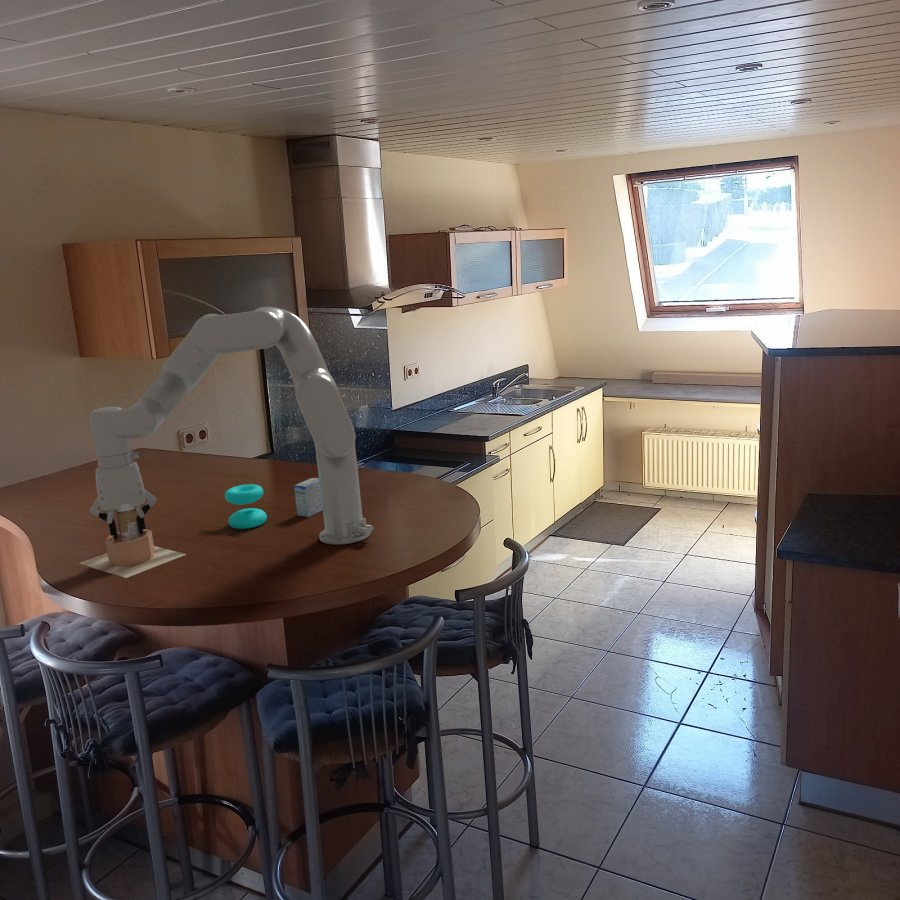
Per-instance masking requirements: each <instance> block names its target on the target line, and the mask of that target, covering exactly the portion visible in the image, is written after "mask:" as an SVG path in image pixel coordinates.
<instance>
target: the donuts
mask: <svg viewBox="0 0 900 900" xmlns="http://www.w3.org/2000/svg"><path fill="white" fill-rule="evenodd" d="M263 495H264V489H263V487H262V486H261V485H258V484H253V483H252V484H249V483H248V484H241V485H240V484H239V485H236V486H232V487H231V488H228V489H227V490H226V491H225V493H224V498H225V500H226V501H227V502H228V503H230V504H232V505H247V504H248V505H249V504H252V503H255V502H257V501H259V500H260V499H261V498H262V497H263ZM267 519H268V515H267V513H266V512H265V511H264V510H262V509H259V508H257V507H256V508H255V507H253V508H252V507H250V508H242V509H239V510H237V511H234V512H233V513H232V514H231V515H230V516H229V517H228V521H227V522H228V525H229V526H230V527H231V528H233V529H235V530H236V529H237V530H245V529H247V530H249V529H253V528H257V527H259V526H262V525H264V523H265V522H267Z"/></svg>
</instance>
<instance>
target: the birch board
mask: <svg viewBox="0 0 900 900" xmlns="http://www.w3.org/2000/svg"><path fill="white" fill-rule="evenodd" d="M154 549H155V551H154V556H153V558H151V559H150V560H148V561H146V562H143V563H140V564H136V565H132V566H114V565H112V564H111V562H110V561H109V559H108V553H104V554H102V555H99V556H95V557H93V558H90V559H87V560H84V561H81V562H78V565H82V566H85V567H89V568H91V569H96V570H98V571H101V572H105V573H108V574H112V575H114V576H118V577H121V578H125V579H127V578H131V577H132V576H134V575H135V576H136V575H139V574H140V573H143V572H145V571H149V570H150V569H154V568H156V567H158V566H161V565H163V564H166V563H169V562H172V561H173V560H176V559H179V558H181V557H184V556H187V553H183V552H179V551H175V550H170V549H167V548H163V547H159V546H155V545H154Z"/></svg>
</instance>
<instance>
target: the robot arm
mask: <svg viewBox="0 0 900 900" xmlns="http://www.w3.org/2000/svg"><path fill="white" fill-rule="evenodd" d="M273 346H276V347H277V349H278V350H279V353H280V354H281V357H282V358H283V360H284V361H283V362H284V364H285V365H286V367H287V369H288V370H287V371H288V372H289V374H290V377H291V379H292V382H293V385H294V388H295V390H294V391H295V399H296V402H297V404H298V405H297V406H298V407H299V410H300V413H301V414H302V417H303V419H304V421H305V422H304V423H306V426H307V428H308V431H309V433H310V435H311V438H312V441H313V443H314V450H315V456H316V465H317V472H318V473H317V474H318V478H319V483H320V492H321V500H322V509H323V511H322V516H323V524H324V529H323V530H322V531H321V532H320V533H319V534H318V535H319V536H318V537H319V541H320V542H322V543H324V544H326V545H327V544H328V545H338V546H339V545H347V544H354V543H357V542H361V541H363V540H365V539H367V538H369V536H370V535H371V534H372V531H374V525H372V524H367V518H366V517H364V515H363V510H362V498H361V489H360V481H359V480H360V479H359V469H358V467H359V466H358V462H357V461H358V459H357V453H356V452H357V451H356V437H357V435H356V432H355V431H356V430H355V428H354V424H353V423H352V420H351V418H350V416H349V414H348V413H349V412H348V411H347V408H346V406H345V403H344V401H343V399H342V397H341V393H340V392H339V388H338V386H337V384H336V382H335V379H334V378H333V377H332V375H331V373H330V371H329V369H328V366H327V363H326V361H325V359H324V357H323V354H322V353H321V351H320V348H319V346H318V343H317V342H316V339H315V337H314V335H313V334H312V332H311V330H310V328H309V327H308V325H307V324H306V323H305V322H304V321H303V320H302V319H301V318H300V317H299V316H297V315H296V314H294V313H293V312H290V310H289V311H288V310H286V309H283V308H280V307H279V308H278V307H274V306H262V307H259V308H256V309H254V310H250V311H244V312H243V311H242V312H236V313H229V314H227V313H226V314H217V313H208V314H205V315H203V316H202V317H200V318H198V319H197V320H196V322H195V323H194V324H193V326H192V328H191V329H190V331H189V332H188V333H187V334H186V336H185V337H184V338H183V339H182V340H181V342H180V343H179V344H178V346H176V348H175V349H174V350H173V352H171V354H170V355H169V356H168V357H167V359H166V360H165V362H164V363H163V365H162V368H161V370H160V372H159V374H158V375H157V377H155V379H154V381H153V382H152V383H151V385H150V386H149V387H148V388H147V390H146V391H144V393H143V394H142V395H141V396H140V398H139V399H138V400H137V402H136V403H134V404H133V405H131V406H130V407H127V408H123V407H120V406H104V407H99V408H96V409H93V410H92V411H90V413H89V422H90V429H91V433H92V434H91V435H92V439H93V444H94V449H95V456H96V459H97V465H98V467H96V468H95V484H96V492H97V493H96V494H97V497H96V499H95V500H94V502H93V504H92V505H91V507H90V508H89V513H90V514H92V515H94V516H96V517H98V518H99V519H101V520H103V521H104V522H106V523H107V524H108V528H109V531H110V532H109V535H111V536H112V535H114V538H115V539H117V538H118V535H117V533H118V531H117V525H116V520H114V512H115V511H116V510H118V509H120V508H121V506H122V505H123V504H129V505H130V506H131V507H135V509H136V514H137V519H138V525H139V531H140V534H143V530H144V529H146V523H145V515H146V514H147V513H148V512H149V510H150V509H151V507H153V506H154V505H155V503H156V502H157V501H158V500H157V497H155V496H154V495H153V494H152V493H150V492H149V491H148V490H147V489H145V486H144V483H143V478H142V475H141V470H140V467H139V465H138V462H137V461H134V460H135V459H137V458H140V455H139V452H138V451H137V452H135V451H132V446H131V441H130V439H146V438H148V437H150V436H153V435H154V434H155V433H156V432H157V430H158V429H159V428H160V427H161V425H162V424H163V423H164V422H165V420H166V419H167V418H168V417H169V415H170V414H171V413H172V412H173V410H174V409H175V408H176V407H177V406H178V404H180V402H181V401H182V400H183V399H184V397H185V396H186V395H187V394H188V393H189V392H191V391H192V390H193V389H194V388H196V386H197V385H198V383H199V382H200V381H201V380H202V379H203V377H204V376H205V375H206V374H207V373H208V372H209V370H210V369H211V368H212V366H213V365H214V364H215V362H216V361H217V360H218V359H219V358H220V356H221V355H223V354H232V353H234V354H236V353H240V352H248V351H249V352H250V351H255V350H256V351H257V350H263V349H268V348H272V347H273ZM146 500H147V502H146ZM98 508H100V509H98ZM105 512H107V513H105Z"/></svg>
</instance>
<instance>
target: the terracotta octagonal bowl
mask: <svg viewBox="0 0 900 900" xmlns="http://www.w3.org/2000/svg"><path fill="white" fill-rule="evenodd" d="M117 535H118V538H117V539H115V538H114V535H112V536H111V534H109V536H108V537H107V538H106V539H105V547H106V552H107V553H108V559H109V561H110V562H111V564H112V565H114V566H132V565H136V564H140V563H143V562H146V561H148V560H150V559H151V558H153V556H154V551H155V549H154V546H155V544H154V543H155V542H154V539H153V533H152V530H151V529H144V530H143V534H140V538H137V539H134V540H131V541H122V542H121V538H120V531H117Z"/></svg>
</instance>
